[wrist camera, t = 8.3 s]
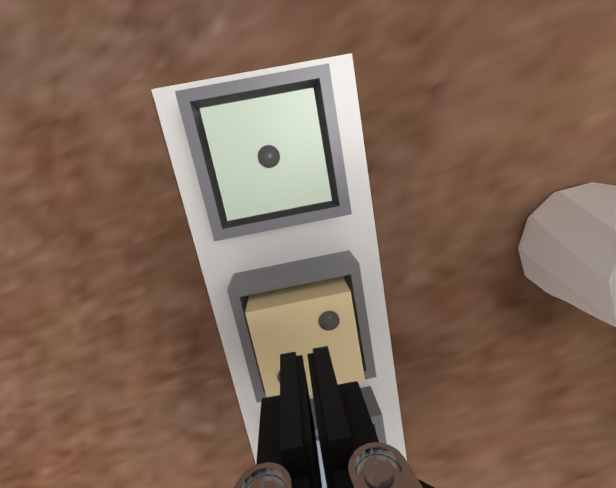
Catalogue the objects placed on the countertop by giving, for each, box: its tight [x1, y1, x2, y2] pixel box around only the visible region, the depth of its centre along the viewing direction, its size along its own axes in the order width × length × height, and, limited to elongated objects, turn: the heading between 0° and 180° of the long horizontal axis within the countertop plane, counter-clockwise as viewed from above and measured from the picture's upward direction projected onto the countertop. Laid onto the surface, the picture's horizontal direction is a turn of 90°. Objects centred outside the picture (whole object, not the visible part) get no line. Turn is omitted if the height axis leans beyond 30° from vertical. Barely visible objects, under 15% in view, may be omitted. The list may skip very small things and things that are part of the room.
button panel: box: [151, 53, 407, 462], centre depth 23 cm, size 12×32×4 cm, turn 10°
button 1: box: [200, 88, 332, 221], centre depth 19 cm, size 6×6×3 cm
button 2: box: [245, 276, 365, 397], centre depth 21 cm, size 6×6×3 cm
